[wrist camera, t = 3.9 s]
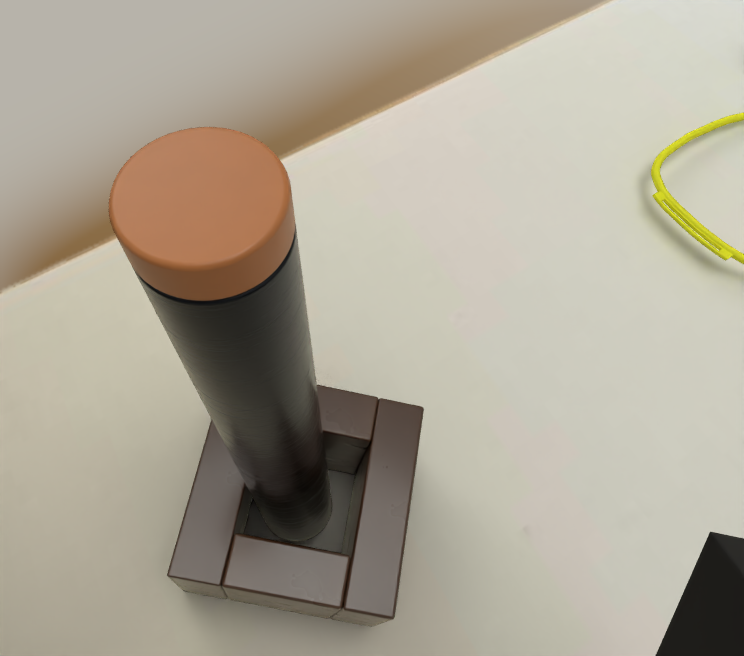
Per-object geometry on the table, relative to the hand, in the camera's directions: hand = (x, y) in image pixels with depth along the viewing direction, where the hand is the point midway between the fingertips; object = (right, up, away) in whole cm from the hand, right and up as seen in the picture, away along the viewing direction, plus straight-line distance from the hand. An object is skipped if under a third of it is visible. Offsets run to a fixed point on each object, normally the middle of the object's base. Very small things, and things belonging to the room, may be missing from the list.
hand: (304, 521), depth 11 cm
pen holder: (-1, -3, +11) cm, 12 cm away
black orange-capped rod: (-1, -3, +11) cm, 12 cm away
